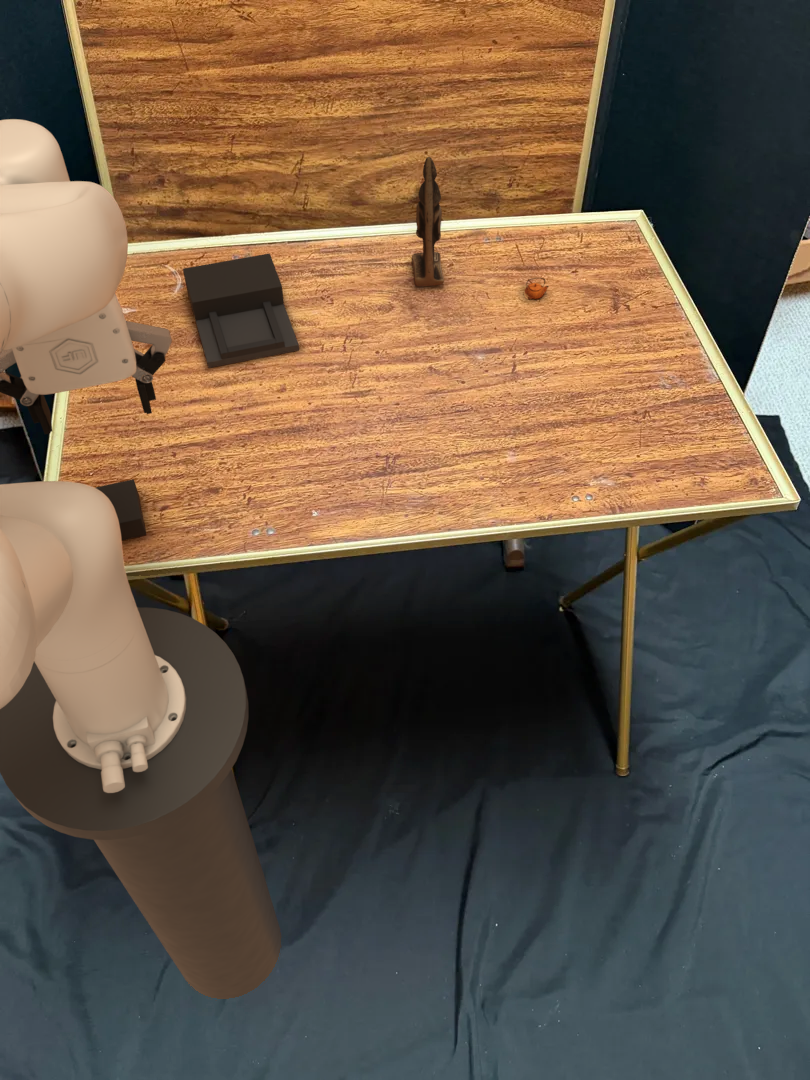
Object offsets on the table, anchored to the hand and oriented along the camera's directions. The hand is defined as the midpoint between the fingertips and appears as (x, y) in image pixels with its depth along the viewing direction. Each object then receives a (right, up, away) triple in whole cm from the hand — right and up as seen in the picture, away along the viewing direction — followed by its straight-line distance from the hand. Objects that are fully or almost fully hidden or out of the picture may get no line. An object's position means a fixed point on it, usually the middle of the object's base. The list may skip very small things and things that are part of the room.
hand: (97, 413), depth 96 cm
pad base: (+8, +17, +35) cm, 40 cm away
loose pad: (-2, -10, +14) cm, 17 cm away
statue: (+34, +25, +41) cm, 59 cm away
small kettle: (+48, +22, +39) cm, 66 cm away
